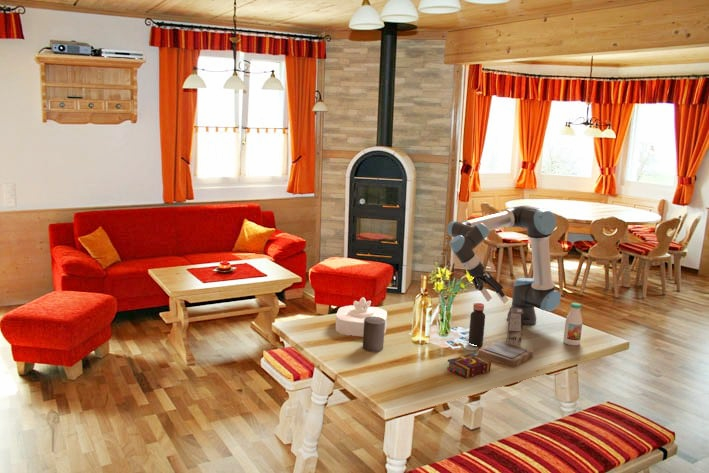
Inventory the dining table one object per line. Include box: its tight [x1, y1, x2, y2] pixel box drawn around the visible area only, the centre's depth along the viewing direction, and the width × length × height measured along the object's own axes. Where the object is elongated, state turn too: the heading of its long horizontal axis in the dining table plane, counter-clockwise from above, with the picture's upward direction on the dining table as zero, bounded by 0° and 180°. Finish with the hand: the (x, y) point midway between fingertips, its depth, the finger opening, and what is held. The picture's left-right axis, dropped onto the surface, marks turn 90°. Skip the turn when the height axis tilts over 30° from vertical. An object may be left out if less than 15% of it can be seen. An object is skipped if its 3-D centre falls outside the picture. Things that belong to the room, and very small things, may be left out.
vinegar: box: [467, 302, 486, 348], centre depth 294 cm, size 7×7×20 cm
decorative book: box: [446, 353, 492, 379], centre depth 266 cm, size 11×16×5 cm
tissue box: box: [335, 296, 388, 337], centre depth 311 cm, size 25×25×16 cm
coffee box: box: [506, 307, 524, 347], centre depth 300 cm, size 9×6×16 cm
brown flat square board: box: [477, 339, 534, 368], centre depth 283 cm, size 18×18×3 cm
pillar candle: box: [362, 316, 385, 353], centre depth 285 cm, size 10×10×15 cm
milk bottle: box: [563, 302, 583, 346], centre depth 302 cm, size 8×8×20 cm
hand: (497, 300), depth 291 cm, fingers open, 13 cm apart
